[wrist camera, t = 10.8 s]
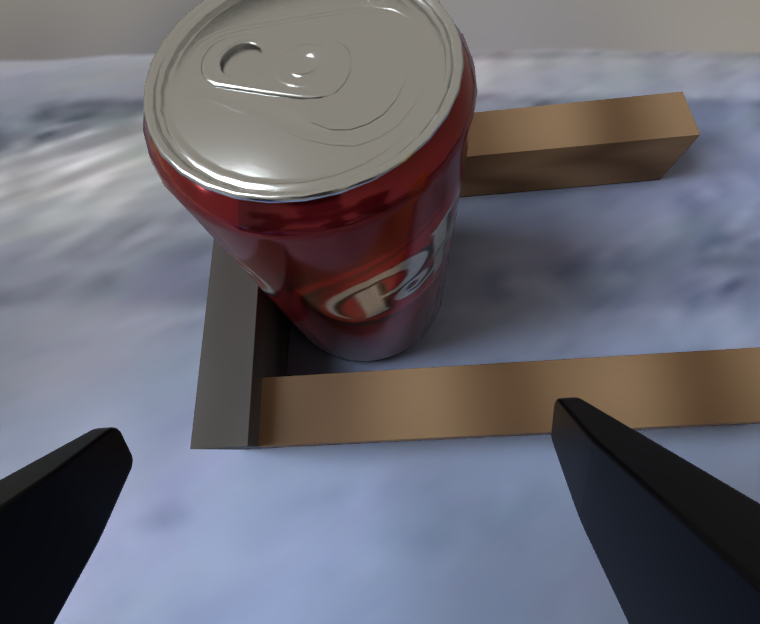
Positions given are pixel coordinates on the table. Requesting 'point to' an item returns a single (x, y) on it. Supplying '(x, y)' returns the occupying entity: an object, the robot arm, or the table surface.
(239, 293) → the block
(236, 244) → the soda can
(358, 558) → the table surface
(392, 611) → the table surface
